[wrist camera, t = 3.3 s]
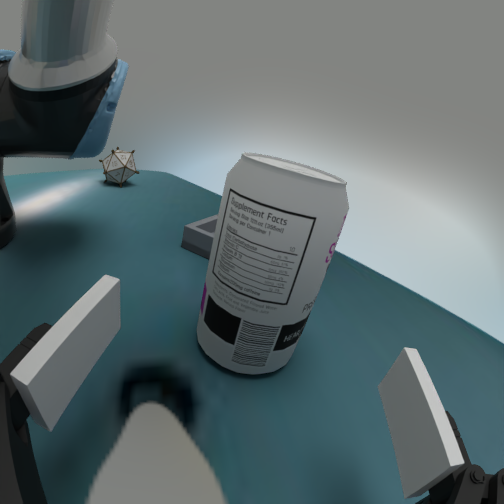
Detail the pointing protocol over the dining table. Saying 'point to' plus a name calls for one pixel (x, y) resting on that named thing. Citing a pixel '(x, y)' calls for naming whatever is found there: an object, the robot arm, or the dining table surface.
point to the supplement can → (268, 260)
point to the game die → (119, 166)
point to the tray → (200, 236)
